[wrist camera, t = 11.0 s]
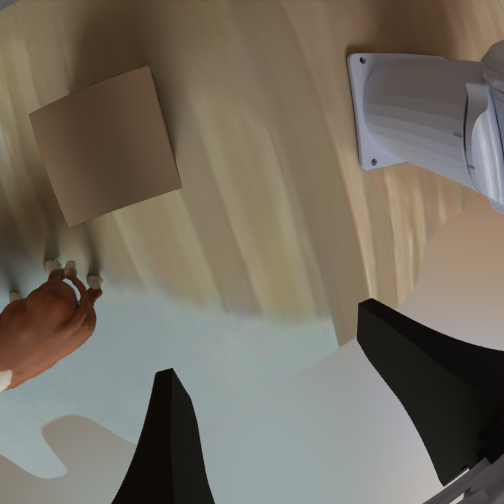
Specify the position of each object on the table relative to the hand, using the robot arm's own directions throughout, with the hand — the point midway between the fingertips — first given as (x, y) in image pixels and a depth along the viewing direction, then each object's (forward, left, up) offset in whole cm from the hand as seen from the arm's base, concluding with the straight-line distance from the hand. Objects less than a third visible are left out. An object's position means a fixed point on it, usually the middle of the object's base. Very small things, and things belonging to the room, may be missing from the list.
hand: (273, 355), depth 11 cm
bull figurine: (+14, 0, -11) cm, 17 cm away
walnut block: (+4, -8, -11) cm, 14 cm away
